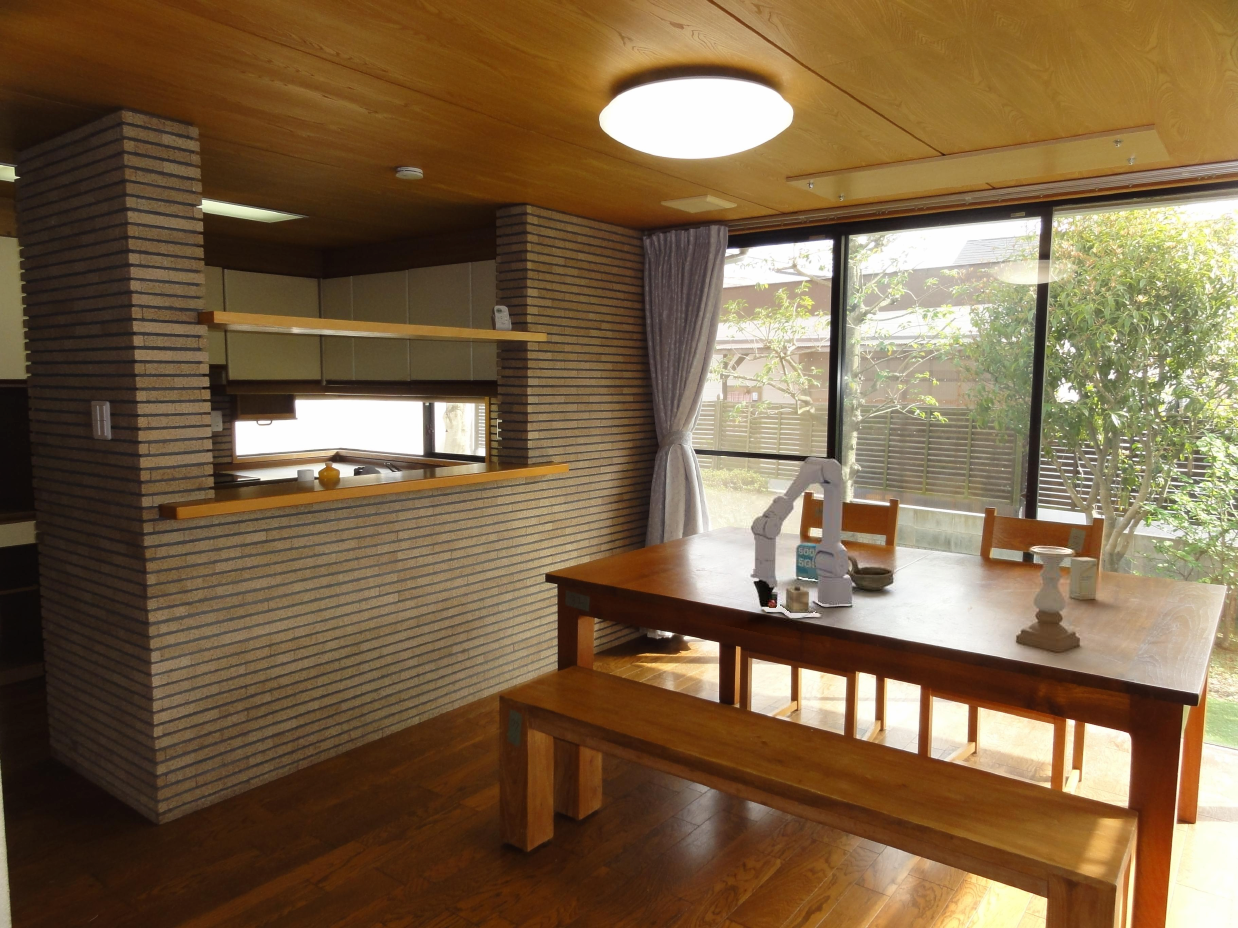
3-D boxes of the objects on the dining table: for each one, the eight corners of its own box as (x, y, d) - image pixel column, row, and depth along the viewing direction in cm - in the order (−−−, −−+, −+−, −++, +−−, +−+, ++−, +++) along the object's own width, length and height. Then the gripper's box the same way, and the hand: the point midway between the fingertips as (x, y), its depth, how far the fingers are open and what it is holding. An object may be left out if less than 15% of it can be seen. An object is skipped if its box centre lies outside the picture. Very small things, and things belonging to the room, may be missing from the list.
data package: (795, 579, 278) (796, 544, 277) (800, 576, 281) (801, 541, 280) (829, 584, 271) (830, 547, 270) (834, 581, 274) (835, 545, 273)
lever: (766, 604, 240) (766, 591, 239) (777, 605, 239) (777, 591, 239) (766, 612, 231) (766, 598, 231) (777, 613, 231) (777, 599, 230)
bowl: (882, 596, 254) (882, 564, 253) (831, 587, 266) (831, 556, 266) (902, 588, 264) (903, 558, 263) (852, 580, 276) (853, 550, 275)
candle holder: (1058, 653, 200) (1063, 555, 198) (1014, 642, 209) (1018, 548, 206) (1080, 644, 206) (1085, 550, 204) (1037, 634, 215) (1041, 543, 213)
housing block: (801, 603, 239) (801, 584, 239) (808, 609, 234) (809, 588, 233) (785, 604, 239) (786, 584, 238) (793, 609, 233) (793, 589, 233)
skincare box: (1079, 600, 249) (1081, 560, 248) (1067, 596, 254) (1069, 557, 253) (1096, 598, 251) (1098, 559, 250) (1084, 595, 255) (1086, 556, 254)
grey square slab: (804, 606, 243) (804, 601, 243) (820, 617, 231) (820, 611, 231) (761, 608, 241) (761, 603, 240) (775, 619, 229) (775, 614, 229)
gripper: (743, 554, 239) (742, 600, 240) (760, 564, 225) (759, 613, 226) (766, 553, 240) (765, 599, 241) (784, 564, 226) (783, 612, 227)
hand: (764, 606), depth 234 cm, fingers closed, pressing on lever
